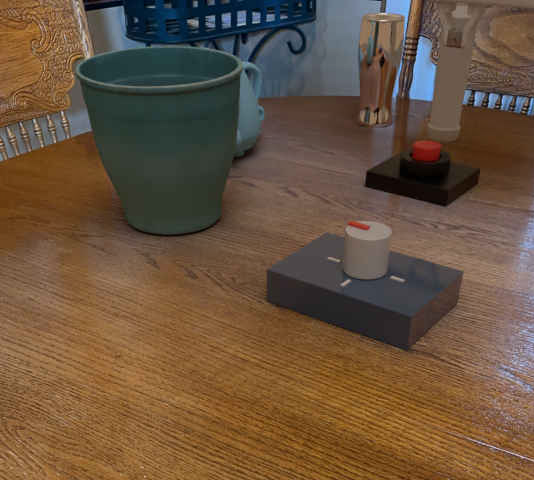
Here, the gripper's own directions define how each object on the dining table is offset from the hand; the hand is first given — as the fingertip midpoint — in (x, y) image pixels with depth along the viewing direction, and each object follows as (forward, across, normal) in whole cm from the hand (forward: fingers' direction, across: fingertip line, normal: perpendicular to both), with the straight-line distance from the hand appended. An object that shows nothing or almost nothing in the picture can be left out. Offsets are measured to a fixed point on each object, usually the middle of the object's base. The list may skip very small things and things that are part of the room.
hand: (456, 47), depth 84 cm
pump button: (+13, +2, +1) cm, 13 cm away
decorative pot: (+16, +35, +7) cm, 39 cm away
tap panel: (+16, -8, +34) cm, 39 cm away
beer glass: (+16, +22, -21) cm, 34 cm away
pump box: (+16, +2, +1) cm, 17 cm away
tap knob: (+13, -8, +34) cm, 38 cm away
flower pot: (+16, +22, +29) cm, 40 cm away
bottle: (+17, +9, -20) cm, 27 cm away
